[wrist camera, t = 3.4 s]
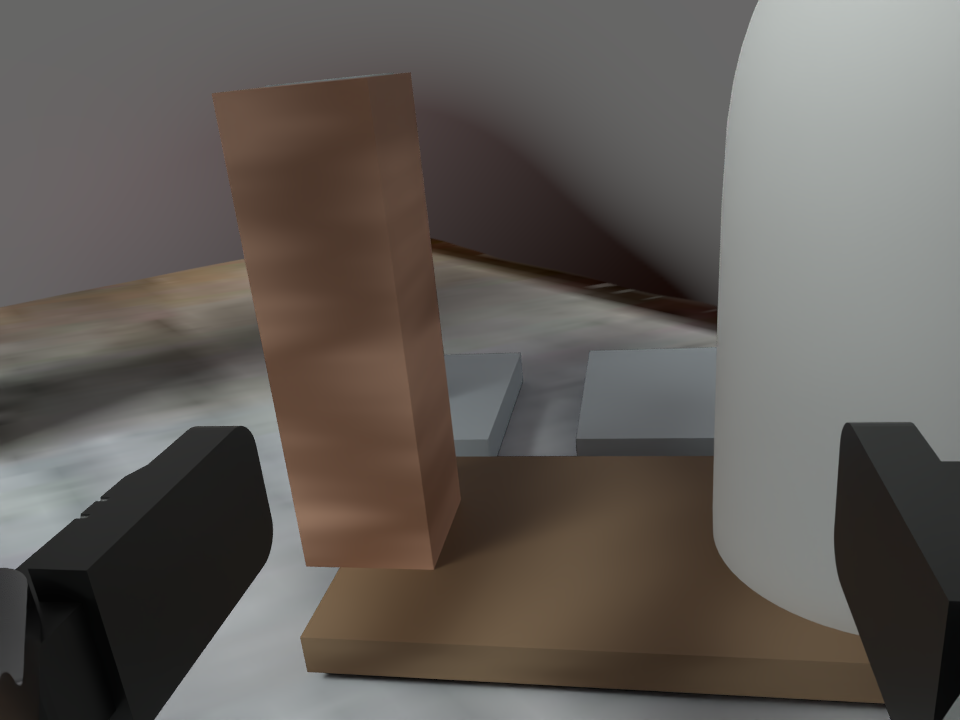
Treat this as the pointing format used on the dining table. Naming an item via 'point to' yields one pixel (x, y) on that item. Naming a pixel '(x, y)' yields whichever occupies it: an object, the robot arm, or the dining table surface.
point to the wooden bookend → (466, 479)
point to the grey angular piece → (594, 399)
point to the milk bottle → (832, 273)
